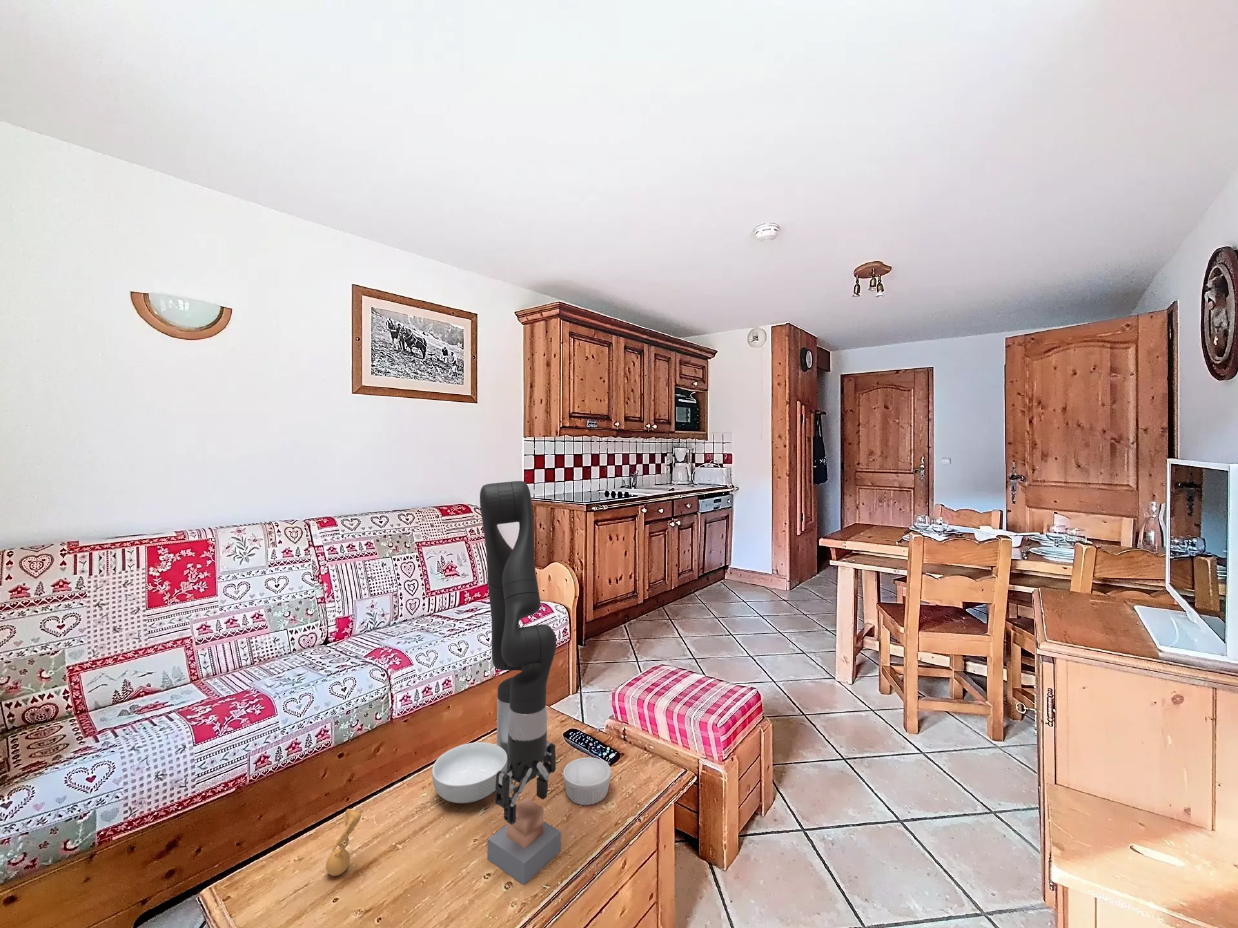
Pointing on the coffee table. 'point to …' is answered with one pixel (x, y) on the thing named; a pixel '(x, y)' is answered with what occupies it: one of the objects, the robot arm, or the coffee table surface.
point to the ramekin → (587, 780)
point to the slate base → (523, 853)
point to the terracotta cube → (526, 823)
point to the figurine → (341, 856)
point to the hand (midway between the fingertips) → (526, 809)
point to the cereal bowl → (468, 771)
